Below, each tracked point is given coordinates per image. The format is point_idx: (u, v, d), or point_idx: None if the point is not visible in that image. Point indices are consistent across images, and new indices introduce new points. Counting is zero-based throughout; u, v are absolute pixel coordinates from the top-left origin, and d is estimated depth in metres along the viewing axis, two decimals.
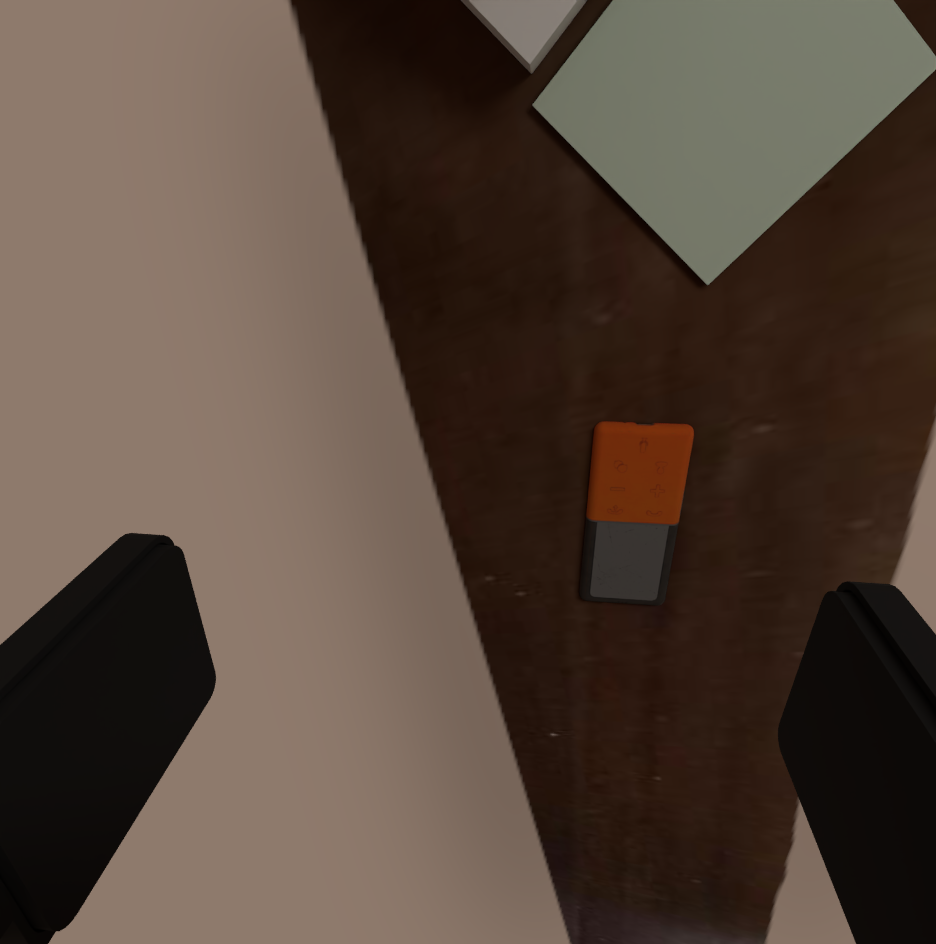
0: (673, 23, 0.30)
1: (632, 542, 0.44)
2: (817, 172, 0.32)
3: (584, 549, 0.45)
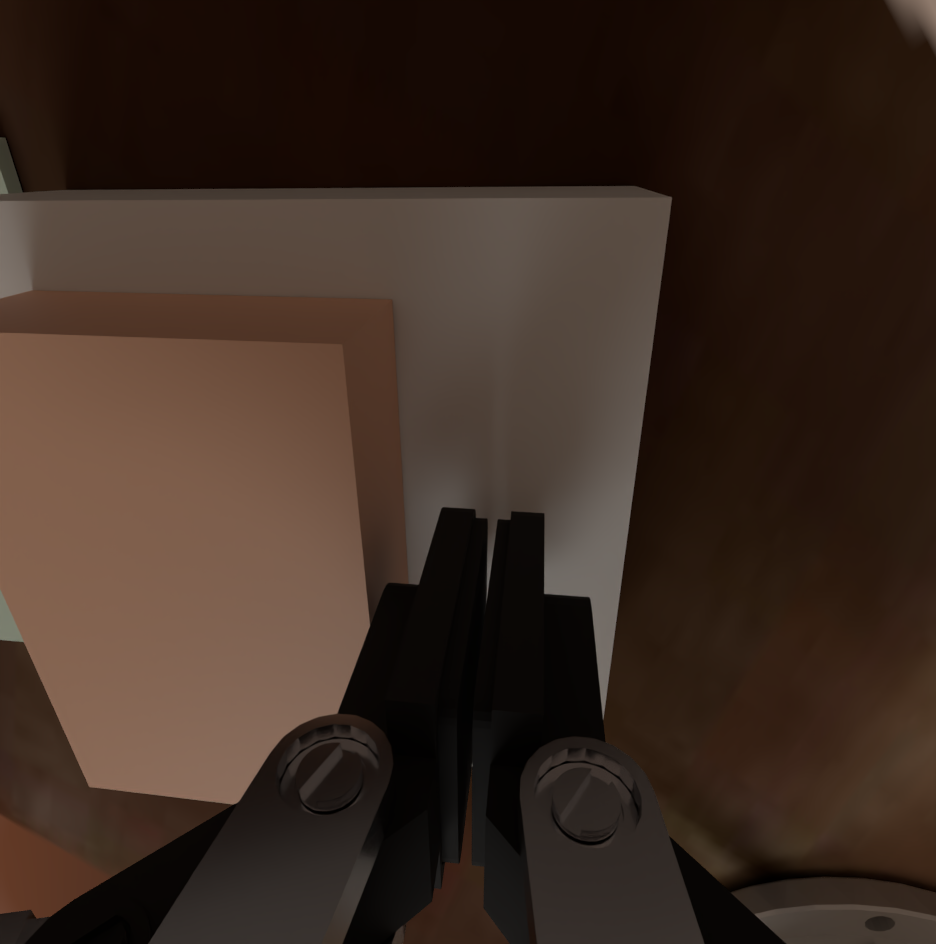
0: None
1: None
2: None
3: None
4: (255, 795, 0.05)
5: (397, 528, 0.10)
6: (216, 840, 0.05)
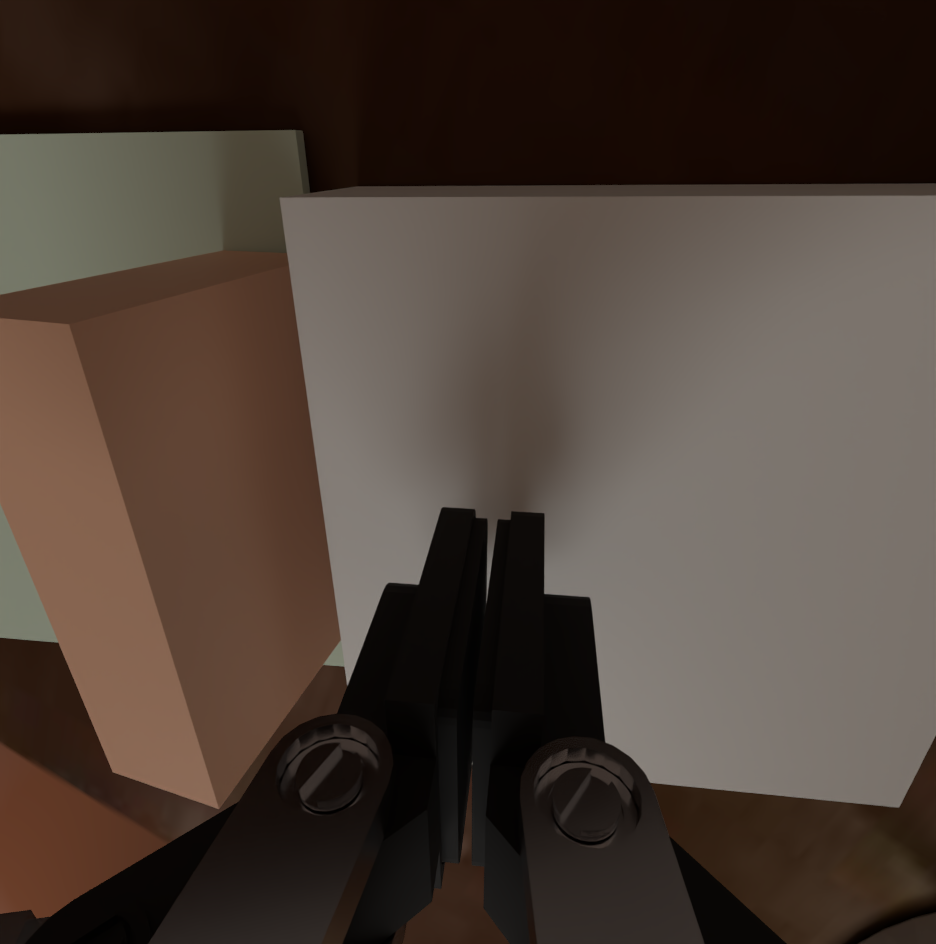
0: None
1: None
2: None
3: None
4: (255, 795, 0.05)
5: (118, 576, 0.09)
6: (216, 839, 0.05)
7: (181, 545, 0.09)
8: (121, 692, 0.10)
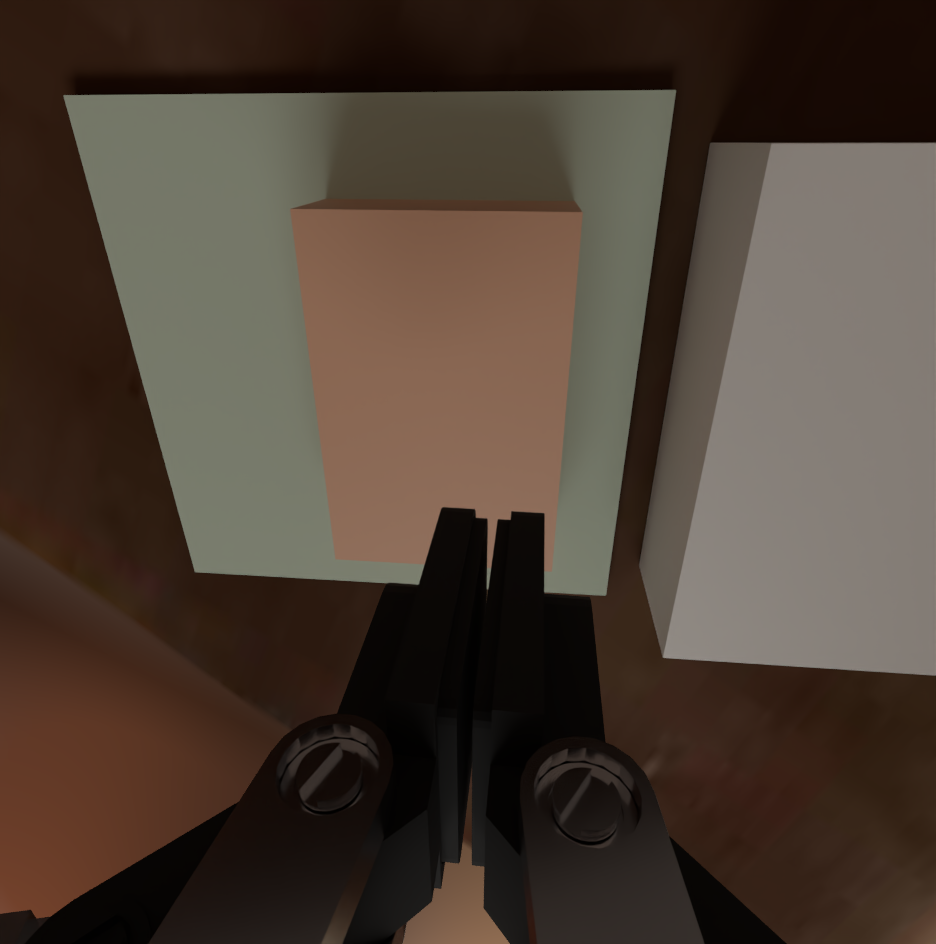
0: None
1: None
2: (158, 395, 0.18)
3: None
4: (255, 795, 0.05)
5: None
6: (216, 840, 0.05)
7: (341, 375, 0.14)
8: None
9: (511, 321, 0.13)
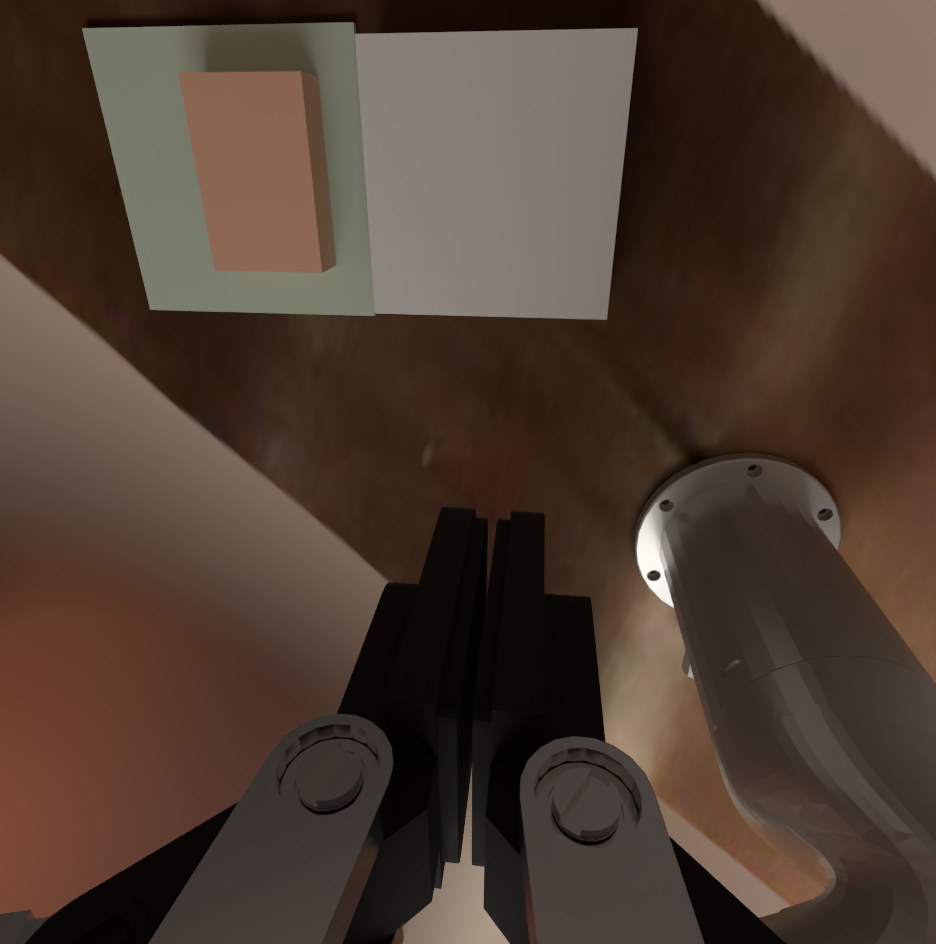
0: None
1: None
2: (127, 192, 0.34)
3: None
4: (255, 795, 0.05)
5: None
6: (216, 839, 0.05)
7: (207, 158, 0.30)
8: None
9: (279, 126, 0.29)
